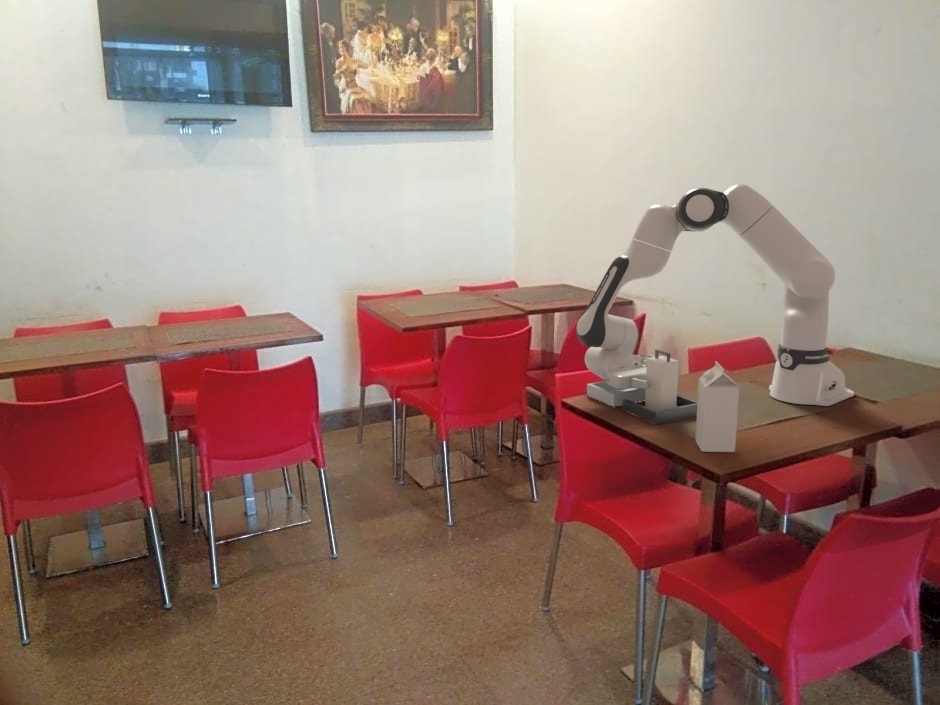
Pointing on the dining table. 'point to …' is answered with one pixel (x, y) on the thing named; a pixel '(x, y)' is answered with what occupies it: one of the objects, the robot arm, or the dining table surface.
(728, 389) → the milk carton
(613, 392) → the tray
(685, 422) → the dining table surface
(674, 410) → the tray
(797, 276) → the robot arm
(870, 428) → the dining table surface
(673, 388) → the white block with handle
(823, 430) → the dining table surface
